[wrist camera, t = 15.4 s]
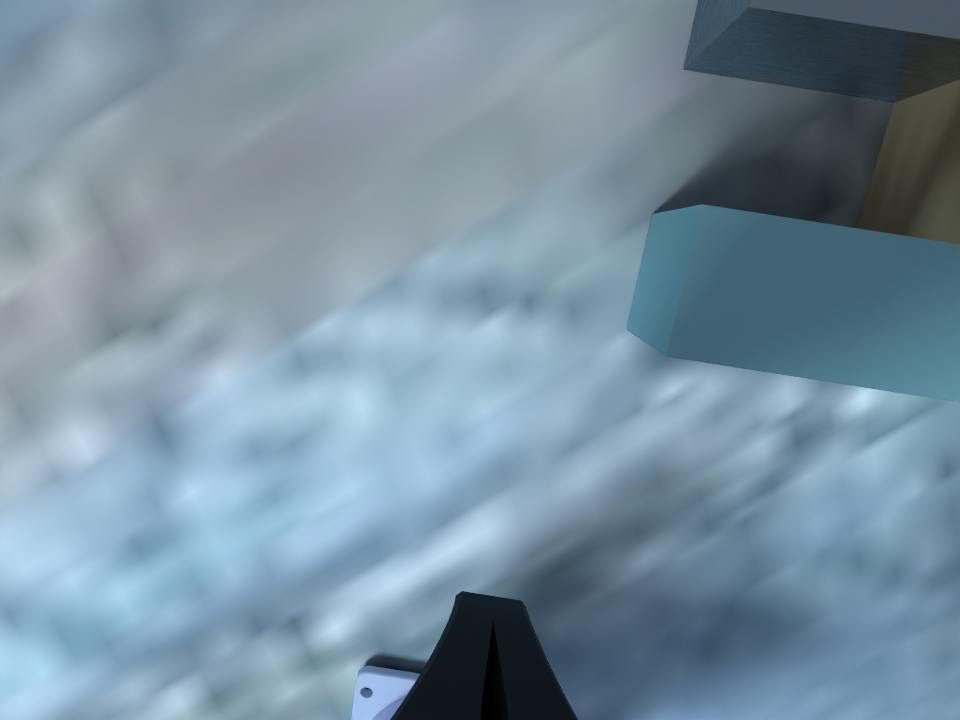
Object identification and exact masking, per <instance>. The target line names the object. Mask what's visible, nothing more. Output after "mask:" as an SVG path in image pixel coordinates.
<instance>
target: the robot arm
mask: <svg viewBox="0 0 960 720" xmlns="http://www.w3.org/2000/svg"><path fill="white" fill-rule="evenodd" d="M364 687H368V688H370V689H371V690H367V689H365V688H364ZM351 720H578V719H577V717H576V715H575V714H574V712H573V710H572V708H571V706H570V704H569V703H568V701H567V699H566V697H565V695H564V693H563V691H562V689H561V687H560V685H559V683H558V681H557V679H556V677H555V675H554V673H553V671H552V669H551V667H550V665H549V663H548V661H547V659H546V656H545V654H544V652H543V650H542V647H541V645H540V643H539V641H538V638H537V636H536V633H535V631H534V628H533V626H532V623H531V621H530V618H529V615H528V613H527V610H526V607H525V605H524V604H523V602H522V601H520V600H514V599H508V598H501V597H495V596H489V595H482V594H476V593H470V592H463V591H462V592H460V593H459V594H457V595H456V598H455V603H454V606H453V610H452V613H451V615H450V618H449V620H448V623H447V625H446V627H445V629H444V631H443V634H442V636H441V638H440V640H439V642H438V643H437V645H436V647H435V649H434V651H433V653H432V655H431V656H430V658H429V660H428V662H427V664H426V666H425V667H424V669H423V671H422V672H421V674H419V673H413V672H406V671H400V670H394V669H388V668H381V667H375V666H365V667H362V668H361V669H360V670H359V673H358V676H357V679H356V685H355V694H354V702H353V711H352V719H351Z"/></svg>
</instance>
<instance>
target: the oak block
mask: <svg viewBox="0 0 960 720" xmlns="http://www.w3.org/2000/svg"><path fill="white" fill-rule="evenodd" d="M857 228H858V229H864V230H871V231H877V232H884V233H890V234H897V235H903V236H910V237H916V238H922V239H929V240H935V241H942V242H948V243H955V244H960V79H959V80H957V81H954V82H951V83H948V84H946V85H943V86H940V87H937V88H934V89H932V90H929V91H926V92H923V93H920V94H918V95H915V96H912V97H909V98H906V99H904V100H901V101H898V102H895V103H894V106H893V109H892V113H891V116H890V119H889V123H888V126H887V129H886V132H885V136H884V139H883V142H882V146H881V149H880V152H879V155H878V159H877V162H876V165H875V169H874V172H873V175H872V179H871V182H870V185H869V188H868V192H867V195H866V198H865V202H864V205H863V208H862V211H861V215H860V218H859V221H858V225H857Z"/></svg>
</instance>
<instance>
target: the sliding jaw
mask: <svg viewBox="0 0 960 720" xmlns="http://www.w3.org/2000/svg"><path fill="white" fill-rule="evenodd" d="M627 330H628V331H629V332H631V333H632V334H634V335H635V336H637V337H638V338H640V339H641V340H643V341H644V342H646V343H647V344H649V345H650V346H652V347H653V348H655V349H656V350H658V351H659V352H660V353H662V354H663V355H665V356H668V357H674V358H681V359H687V360H693V361H700V362H706V363H712V364H719V365H725V366H732V367H738V368H744V369H751V370H757V371H763V372H770V373H776V374H783V375H789V376H795V377H802V378H808V379H814V380H821V381H827V382H834V383H840V384H846V385H853V386H859V387H865V388H872V389H878V390H885V391H891V392H897V393H904V394H910V395H917V396H923V397H929V398H936V399H942V400H948V401H955V402H960V244H955V243H948V242H942V241H935V240H929V239H922V238H916V237H910V236H903V235H897V234H890V233H884V232H877V231H871V230H864V229H858V228H852V227H845V226H839V225H832V224H826V223H819V222H813V221H807V220H800V219H794V218H787V217H781V216H774V215H768V214H762V213H755V212H749V211H742V210H736V209H729V208H723V207H717V206H710V205H704V204H701V205H696V206H691V207H686V208H680V209H675V210H670V211H665V212H660V213H655V214H652V216H651V220H650V225H649V230H648V234H647V239H646V243H645V248H644V253H643V257H642V262H641V266H640V271H639V275H638V280H637V285H636V289H635V294H634V298H633V303H632V308H631V312H630V317H629V321H628V326H627Z"/></svg>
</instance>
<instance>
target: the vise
mask: <svg viewBox="0 0 960 720" xmlns="http://www.w3.org/2000/svg"><path fill="white" fill-rule="evenodd" d="M683 70H690V71H696V72H703V73H709V74H716V75H722V76H729V77H735V78H742V79H748V80H755V81H761V82H768V83H774V84H780V85H787V86H793V87H800V88H806V89H813V90H819V91H826V92H832V93H839V94H845V95H852V96H858V97H865V98H871V99H878V100H884V101H891V102H898V101H901V100H904V99H906V98H909V97H912V96H915V95H918V94H920V93H923V92H926V91H929V90H932V89H934V88H937V87H940V86H943V85H946V84H948V83H951V82H954V81H957V80H959V79H960V0H698V4H697V9H696V13H695V18H694V23H693V27H692V32H691V36H690V41H689V46H688V50H687V55H686V59H685V64H684V69H683Z"/></svg>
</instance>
